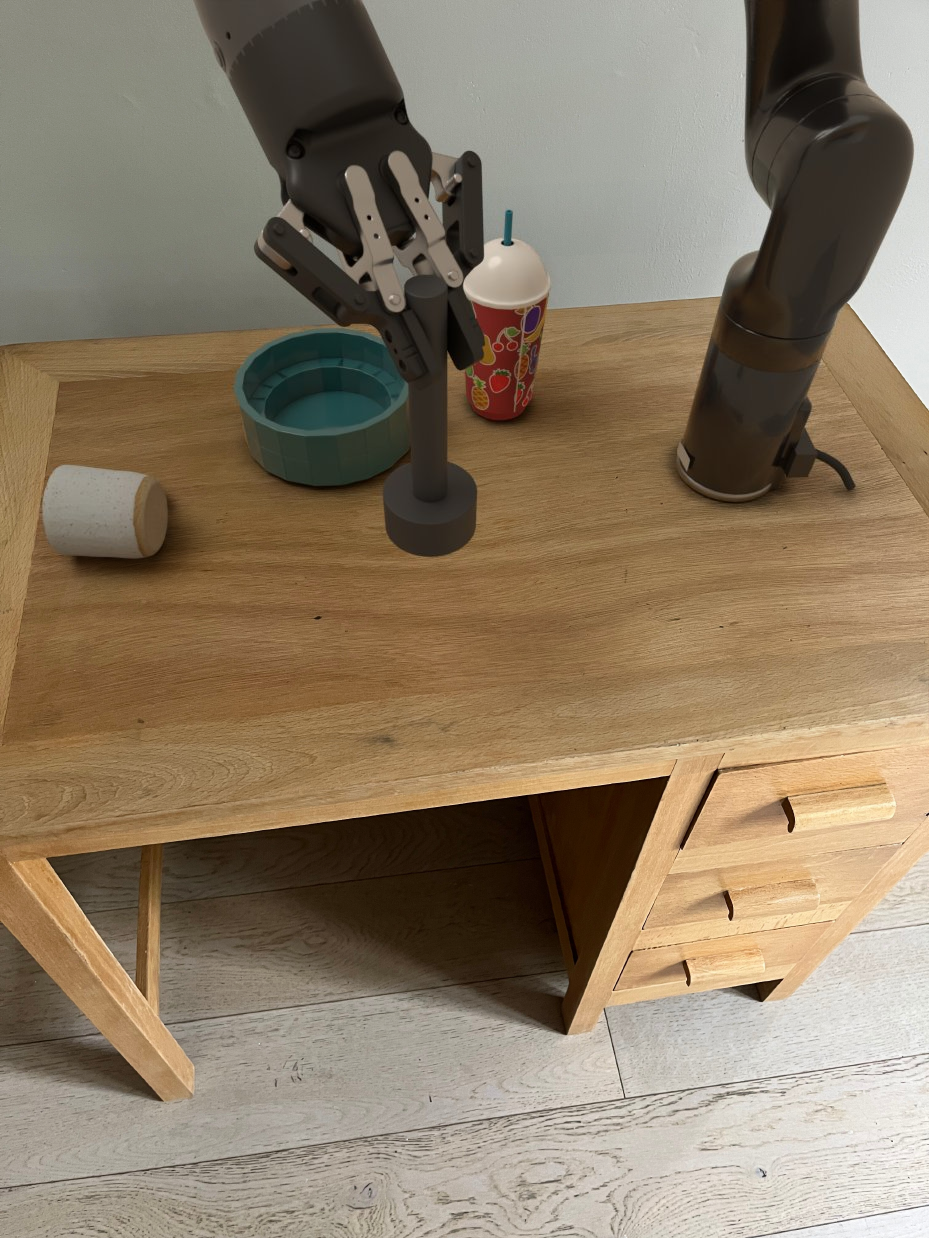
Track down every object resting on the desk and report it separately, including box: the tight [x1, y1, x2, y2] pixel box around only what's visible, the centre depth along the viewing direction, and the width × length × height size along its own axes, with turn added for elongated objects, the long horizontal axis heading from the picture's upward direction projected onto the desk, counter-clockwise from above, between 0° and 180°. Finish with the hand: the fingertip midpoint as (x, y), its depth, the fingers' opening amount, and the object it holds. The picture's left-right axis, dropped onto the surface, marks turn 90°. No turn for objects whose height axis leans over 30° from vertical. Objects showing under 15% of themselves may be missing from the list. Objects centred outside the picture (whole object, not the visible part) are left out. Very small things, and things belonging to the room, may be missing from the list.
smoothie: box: [463, 209, 552, 421], centre depth 81 cm, size 8×8×20 cm
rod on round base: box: [382, 275, 478, 558], centre depth 50 cm, size 6×6×17 cm
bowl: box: [233, 327, 411, 487], centre depth 83 cm, size 17×17×6 cm
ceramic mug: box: [41, 464, 169, 559], centre depth 73 cm, size 11×8×8 cm
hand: (451, 373), depth 46 cm, fingers closed on rod on round base
